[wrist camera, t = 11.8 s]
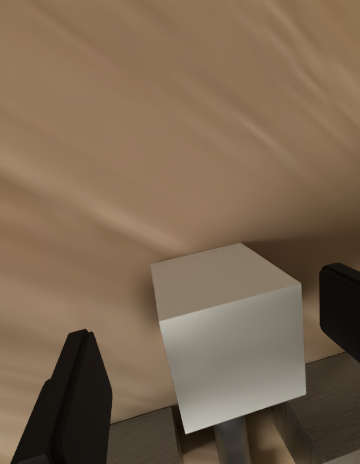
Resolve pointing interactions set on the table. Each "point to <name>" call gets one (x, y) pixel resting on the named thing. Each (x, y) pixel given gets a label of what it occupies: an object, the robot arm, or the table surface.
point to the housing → (285, 420)
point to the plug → (230, 340)
